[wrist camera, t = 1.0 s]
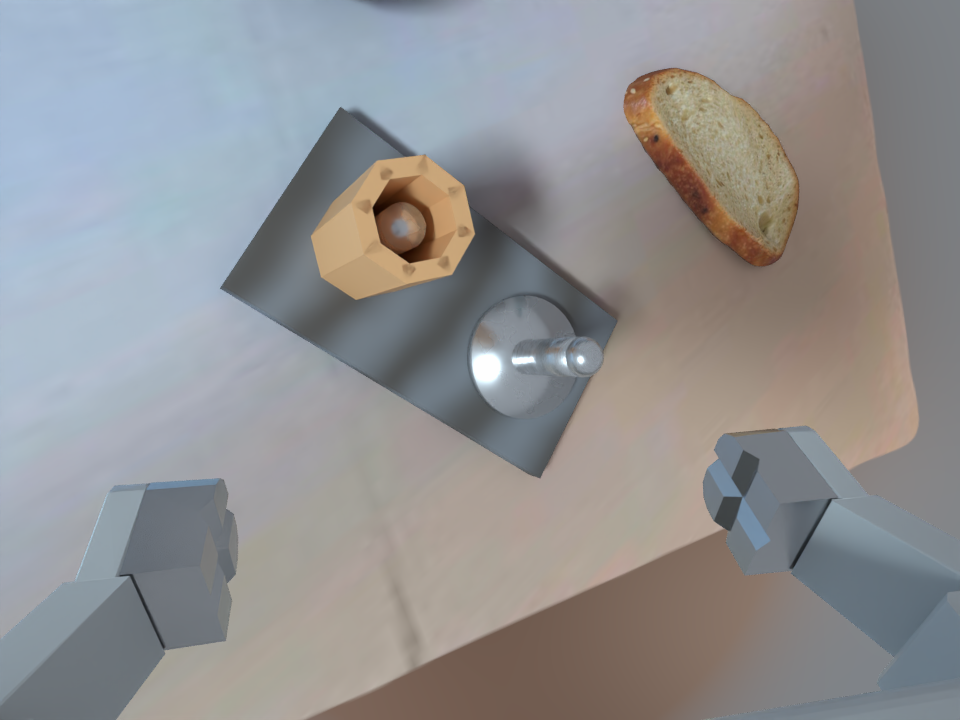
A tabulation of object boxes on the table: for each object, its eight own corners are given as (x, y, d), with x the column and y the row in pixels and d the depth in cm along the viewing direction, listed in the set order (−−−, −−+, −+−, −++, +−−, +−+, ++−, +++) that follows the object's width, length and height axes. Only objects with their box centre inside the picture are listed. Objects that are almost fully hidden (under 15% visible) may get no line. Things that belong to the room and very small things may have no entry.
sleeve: (294, 260, 41) (331, 232, 32) (346, 179, 43) (395, 131, 34) (379, 315, 44) (435, 304, 35) (425, 236, 45) (491, 206, 36)
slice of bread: (615, 72, 54) (644, 53, 51) (765, 74, 62) (799, 58, 59) (645, 285, 56) (676, 280, 52) (788, 262, 64) (823, 256, 60)
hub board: (220, 288, 41) (237, 266, 31) (335, 114, 44) (382, 46, 34) (530, 475, 50) (615, 501, 41) (606, 321, 54) (701, 313, 44)
